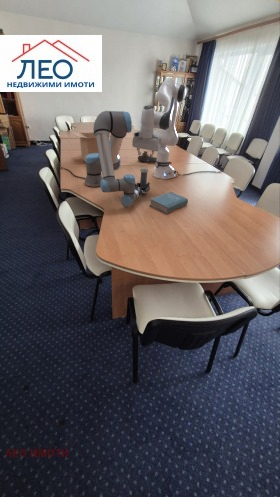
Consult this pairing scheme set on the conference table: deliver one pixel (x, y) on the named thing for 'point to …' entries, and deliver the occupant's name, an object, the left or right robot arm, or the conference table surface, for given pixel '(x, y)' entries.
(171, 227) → the conference table surface
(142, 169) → the lid
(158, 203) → the book
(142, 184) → the dark grey cylinder
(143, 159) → the laser sight
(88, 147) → the box
